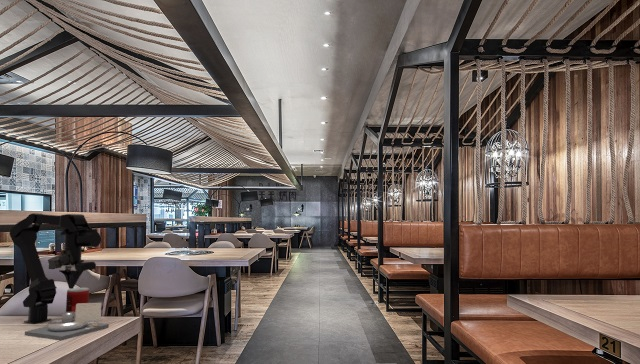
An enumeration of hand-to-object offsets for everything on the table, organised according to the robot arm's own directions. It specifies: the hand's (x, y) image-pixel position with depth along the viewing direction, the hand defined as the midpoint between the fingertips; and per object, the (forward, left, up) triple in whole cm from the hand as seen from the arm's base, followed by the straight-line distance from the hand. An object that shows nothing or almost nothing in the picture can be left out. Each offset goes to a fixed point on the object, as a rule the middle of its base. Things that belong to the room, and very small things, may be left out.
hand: (71, 288), depth 160 cm
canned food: (-9, +10, -13) cm, 19 cm away
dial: (+12, -7, -11) cm, 18 cm away
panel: (+10, -8, -13) cm, 18 cm away
